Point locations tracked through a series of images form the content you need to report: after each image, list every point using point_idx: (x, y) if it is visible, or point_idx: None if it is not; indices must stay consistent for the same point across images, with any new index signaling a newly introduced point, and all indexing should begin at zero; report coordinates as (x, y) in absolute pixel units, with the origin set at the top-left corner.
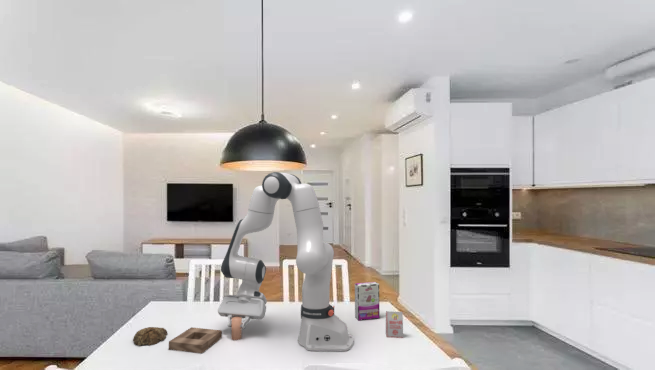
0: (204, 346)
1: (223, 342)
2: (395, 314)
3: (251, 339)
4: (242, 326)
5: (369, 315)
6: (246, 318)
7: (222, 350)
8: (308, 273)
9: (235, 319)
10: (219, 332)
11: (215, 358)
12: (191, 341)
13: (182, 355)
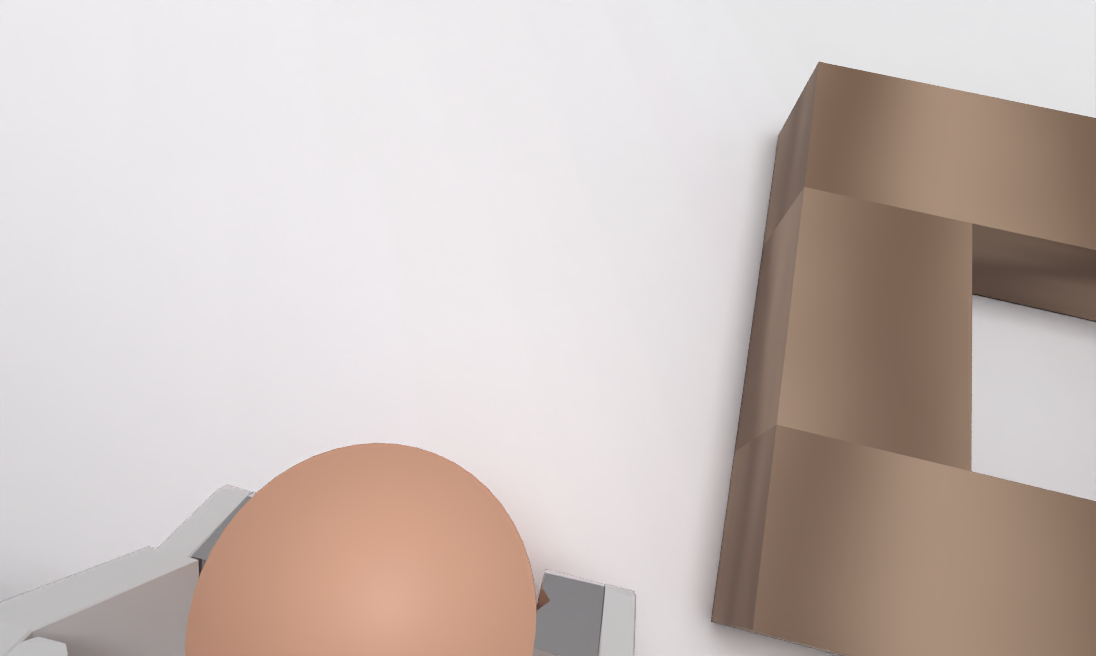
0: (797, 132)
1: (620, 435)
2: None
3: None
4: (242, 492)
5: None
6: (23, 640)
7: (558, 199)
8: None
9: (392, 507)
10: (762, 530)
11: (580, 36)
12: (1044, 169)
13: None
